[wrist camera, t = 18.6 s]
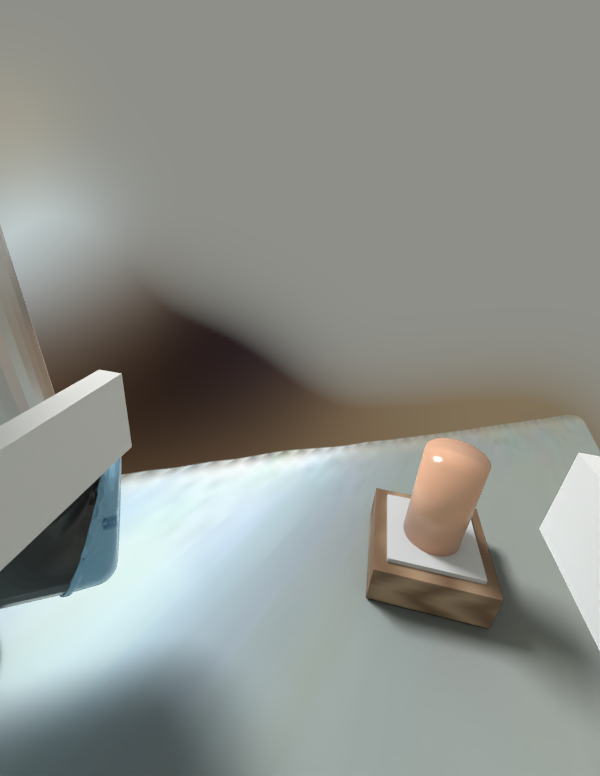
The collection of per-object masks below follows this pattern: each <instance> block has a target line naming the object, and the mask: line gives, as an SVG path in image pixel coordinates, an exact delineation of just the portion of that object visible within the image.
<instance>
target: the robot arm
mask: <svg viewBox="0 0 600 776" xmlns="http://www.w3.org/2000/svg"><path fill="white" fill-rule="evenodd" d="M131 447H132V445H131V438H130V431H129V424H128V417H127V409H126V402H125V395H124V388H123V381H122V374H120V373H115V372H108V371H103V370H98V371H96V372H94V373H93V374H91V375H89V376H87V377H86V378H84V379H82V380H80V381H79V382H77V383H75V384H73V385H71V386H70V387H68V388H66V389H64V390H63V391H61V392H59V393H57V394H54V390H53V387H52V384H51V381H50V378H49V375H48V372H47V369H46V366H45V363H44V359H43V356H42V353H41V350H40V347H39V344H38V341H37V338H36V335H35V332H34V328H33V326H32V323H31V319H30V316H29V313H28V310H27V307H26V304H25V301H24V298H23V294H22V292H21V288H20V285H19V282H18V279H17V276H16V273H15V270H14V267H13V263H12V261H11V257H10V254H9V251H8V248H7V245H6V242H5V239H4V236H3V232H2V229H1V226H0V609H2V608H6V607H10V606H15V605H19V604H23V603H28V602H32V601H36V600H41V599H45V598H49V597H54V596H58V595H60V597H67V596H69V595H71V594H72V593H73V592H75V591H79V590H82V589H86V588H89V587H93V586H96V585H100V584H102V583H104V582H105V581H107V580H108V579H109V578H110V577H111V576H112V574H113V573H114V571H115V569H116V567H117V562H118V549H119V527H120V497H121V456H122V455H123V454H124V453H126V452H127V451H128V450H129V449H130V448H131ZM540 531H541V533H542V535H543V537H544V539H545V541H546V543H547V545H548V547H549V549H550V551H551V553H552V555H553V557H554V559H555V561H556V563H557V565H558V567H559V569H560V572H561V574H562V576H563V578H564V580H565V582H566V584H567V586H568V588H569V590H570V592H571V594H572V596H573V598H574V600H575V602H576V604H577V606H578V608H579V610H580V612H581V614H582V616H583V618H584V620H585V622H586V624H587V626H588V628H589V630H590V632H591V634H592V636H593V638H594V640H595V642H596V644H597V646H598V648H599V650H600V456H595V455H589V454H583V453H578V455H577V457H576V459H575V461H574V463H573V465H572V467H571V469H570V471H569V473H568V474H567V476H566V478H565V480H564V482H563V484H562V486H561V488H560V490H559V492H558V494H557V496H556V498H555V500H554V502H553V503H552V505H551V507H550V509H549V511H548V513H547V515H546V517H545V519H544V521H543V523H542V525H541V527H540Z"/></svg>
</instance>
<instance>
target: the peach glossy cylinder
mask: <svg viewBox="0 0 600 776" xmlns="http://www.w3.org/2000/svg"><path fill="white" fill-rule="evenodd" d="M490 469H491V463H490V461H489V459H488V458H487V456H486V455H485V454H484V453H483V452H481V451H480V450H479V449H477V448H475V447H474V446H472V445H470V444H467V443H465V442H462V441H459V440H455V439H449V438H437V439H433V440H431V441H429V442H428V443H427V444H426V446H425V450H424V453H423V457H422V460H421V464H420V467H419V471H418V474H417V478H416V481H415V485H414V488H413V492H412V495H411V499H410V502H409V506H408V509H407V513H406V516H405V520H404V524H403V528H404V532H405V535H406V536H407V538H408V539H409V541H410V542H411V543H412V544H413V545H415V546H416V547H417V548H418V549H420V550H422V551H424V552H426V553H428V554H431V555H434V556H442V557H443V556H450V555H453V554H455V553H456V552H457V551H458V550H459V548H460V546H461V543H462V540H463V538H464V535H465V533H466V530H467V528H468V525H469V523H470V520H471V518H472V515H473V513H474V510H475V507H476V505H477V502H478V500H479V497H480V495H481V492H482V490H483V487H484V485H485V482H486V479H487V477H488V474H489V472H490Z"/></svg>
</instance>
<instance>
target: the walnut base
mask: <svg viewBox="0 0 600 776" xmlns="http://www.w3.org/2000/svg"><path fill="white" fill-rule="evenodd" d="M410 499H411V495H407V494H402V493H397V492H393V491H388V490H383V489H378V488H376V493H375V497H374V501H373V506H372V510H371V518H370V536H369V554H368V573H367V591H366V598H369V599H373V600H377V601H381V602H385V603H389V604H393V605H397V606H401V607H405V608H409V609H413V610H417V611H421V612H425V613H429V614H433V615H437V616H441V617H445V618H449V619H453V620H457V621H461V622H465V623H469V624H473V625H477V626H481V627H485V628H490V626H491V624H492V622H493V620H494V619H495V617H496V615H497V613H498V611H499V609H500V607H501V605H502V603H503V601H504V600H503V596H502V593H501V590H500V586H499V583H498V580H497V576H496V573H495V570H494V566H493V563H492V560H491V556H490V553H489V550H488V546H487V543H486V540H485V536H484V533H483V530H482V526H481V523H480V520H479V516H478V513H477V510H476V509H475V510H474V513H473V515H472V518H471V520H470V523H469V525H468V528H467V530H466V533H465V535H464V538H463V540H462V543H461V546H460V548H459V550H458V551H457V552H456V553H455V554H453V555H450V556H443V557H442V556H434V555H431V554H428V553H426V552H424V551H422V550H420V549H418V548H417V547H416V546H415V545H413V544H412V543H411V542H410V541H409V539H408V538H407V536H406V535H405V532H404V528H403V524H404V520H405V516H406V513H407V509H408V506H409V502H410Z"/></svg>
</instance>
